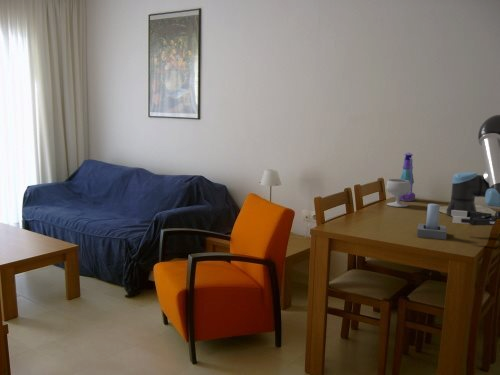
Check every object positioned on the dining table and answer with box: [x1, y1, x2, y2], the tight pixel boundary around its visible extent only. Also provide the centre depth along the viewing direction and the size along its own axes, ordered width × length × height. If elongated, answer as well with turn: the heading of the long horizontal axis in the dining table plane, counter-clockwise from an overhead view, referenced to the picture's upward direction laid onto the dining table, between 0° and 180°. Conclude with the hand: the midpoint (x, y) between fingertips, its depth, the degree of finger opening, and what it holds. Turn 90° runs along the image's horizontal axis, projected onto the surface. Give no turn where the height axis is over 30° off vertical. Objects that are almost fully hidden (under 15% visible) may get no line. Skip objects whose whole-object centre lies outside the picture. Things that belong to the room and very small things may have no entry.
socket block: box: [416, 222, 448, 241], centre depth 215 cm, size 12×12×4 cm
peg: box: [425, 203, 440, 230], centre depth 214 cm, size 5×5×14 cm
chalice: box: [385, 178, 411, 208], centre depth 280 cm, size 14×14×15 cm
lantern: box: [399, 152, 416, 202], centre depth 297 cm, size 13×12×30 cm
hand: (451, 216), depth 211 cm, fingers open, 13 cm apart
